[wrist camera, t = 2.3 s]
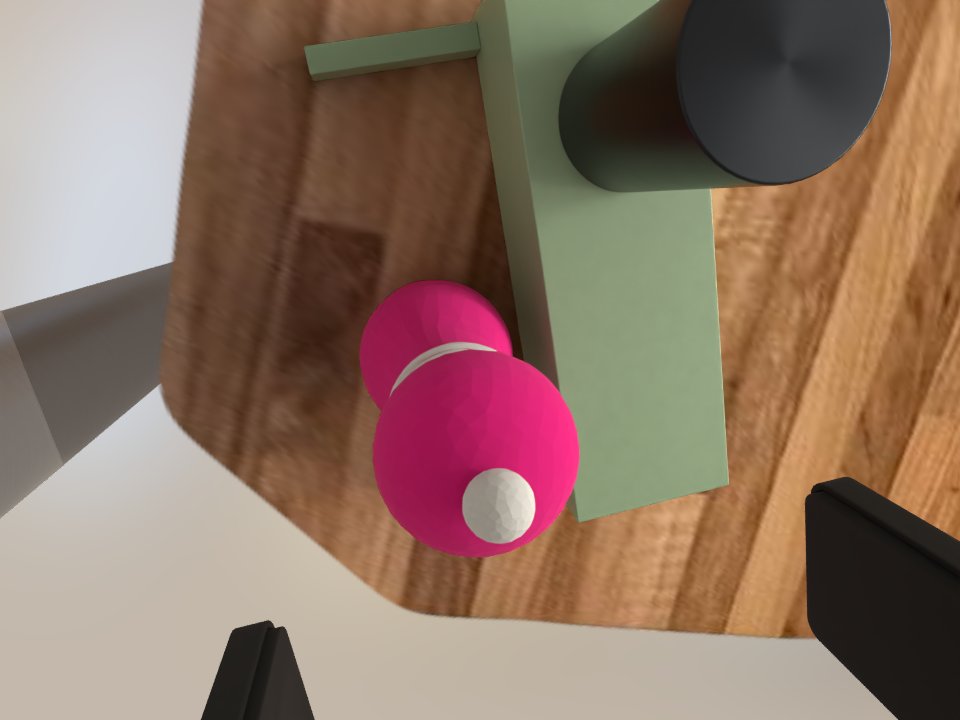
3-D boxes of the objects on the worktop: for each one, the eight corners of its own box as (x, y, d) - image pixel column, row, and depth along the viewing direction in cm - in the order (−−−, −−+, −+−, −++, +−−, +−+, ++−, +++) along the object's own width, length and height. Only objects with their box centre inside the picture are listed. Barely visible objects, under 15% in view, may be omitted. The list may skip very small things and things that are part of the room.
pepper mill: (345, 381, 33) (306, 634, 13) (382, 253, 31) (396, 331, 12) (470, 413, 34) (593, 677, 15) (510, 292, 33) (701, 416, 14)
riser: (407, 495, 35) (416, 564, 28) (305, 45, 28) (283, -5, 22) (664, 434, 37) (729, 485, 30) (624, -1, 30) (696, -60, 23)
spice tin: (567, 204, 25) (686, 203, 16) (548, 48, 23) (667, -59, 14) (700, 179, 26) (891, 164, 16) (690, 26, 24) (896, -89, 15)
